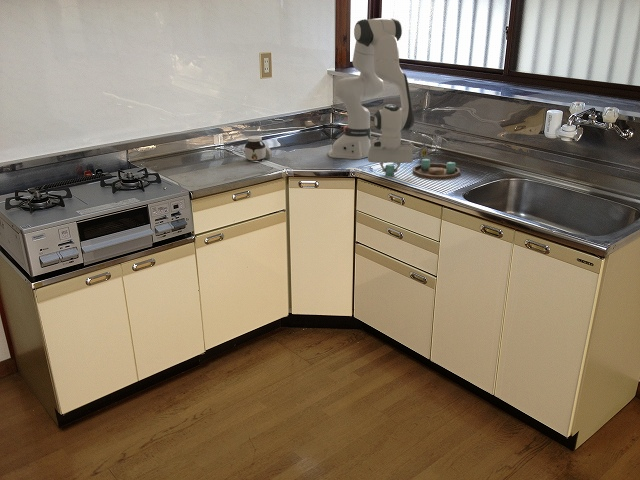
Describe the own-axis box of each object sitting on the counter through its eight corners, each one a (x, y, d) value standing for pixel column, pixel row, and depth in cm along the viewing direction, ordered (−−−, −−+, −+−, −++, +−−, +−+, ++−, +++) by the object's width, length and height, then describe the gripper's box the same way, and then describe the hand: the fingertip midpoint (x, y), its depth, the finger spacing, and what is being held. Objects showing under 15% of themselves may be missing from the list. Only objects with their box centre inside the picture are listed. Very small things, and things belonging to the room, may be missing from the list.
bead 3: (446, 173, 283) (447, 164, 281) (445, 171, 287) (446, 161, 285) (455, 174, 282) (456, 164, 281) (454, 171, 286) (455, 162, 284)
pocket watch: (435, 165, 300) (437, 144, 296) (418, 164, 301) (419, 143, 297) (436, 160, 307) (437, 140, 303) (419, 159, 309) (420, 139, 305)
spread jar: (243, 161, 309) (241, 138, 304) (253, 156, 319) (252, 133, 314) (265, 163, 305) (264, 140, 300) (274, 158, 315) (273, 135, 310)
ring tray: (413, 180, 277) (413, 175, 276) (412, 167, 296) (412, 162, 295) (461, 181, 275) (461, 176, 274) (457, 168, 294) (457, 163, 293)
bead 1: (385, 176, 283) (385, 166, 282) (385, 173, 287) (385, 164, 285) (394, 176, 283) (394, 166, 281) (394, 174, 287) (394, 164, 285)
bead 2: (425, 171, 287) (426, 161, 286) (419, 169, 290) (419, 159, 288) (431, 169, 290) (432, 160, 288) (425, 167, 292) (425, 158, 291)
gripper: (414, 140, 281) (412, 170, 286) (368, 139, 283) (368, 169, 288) (414, 143, 275) (413, 174, 280) (368, 143, 277) (367, 173, 282)
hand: (389, 171), depth 284 cm, fingers closed on bead 1, 4 cm apart
